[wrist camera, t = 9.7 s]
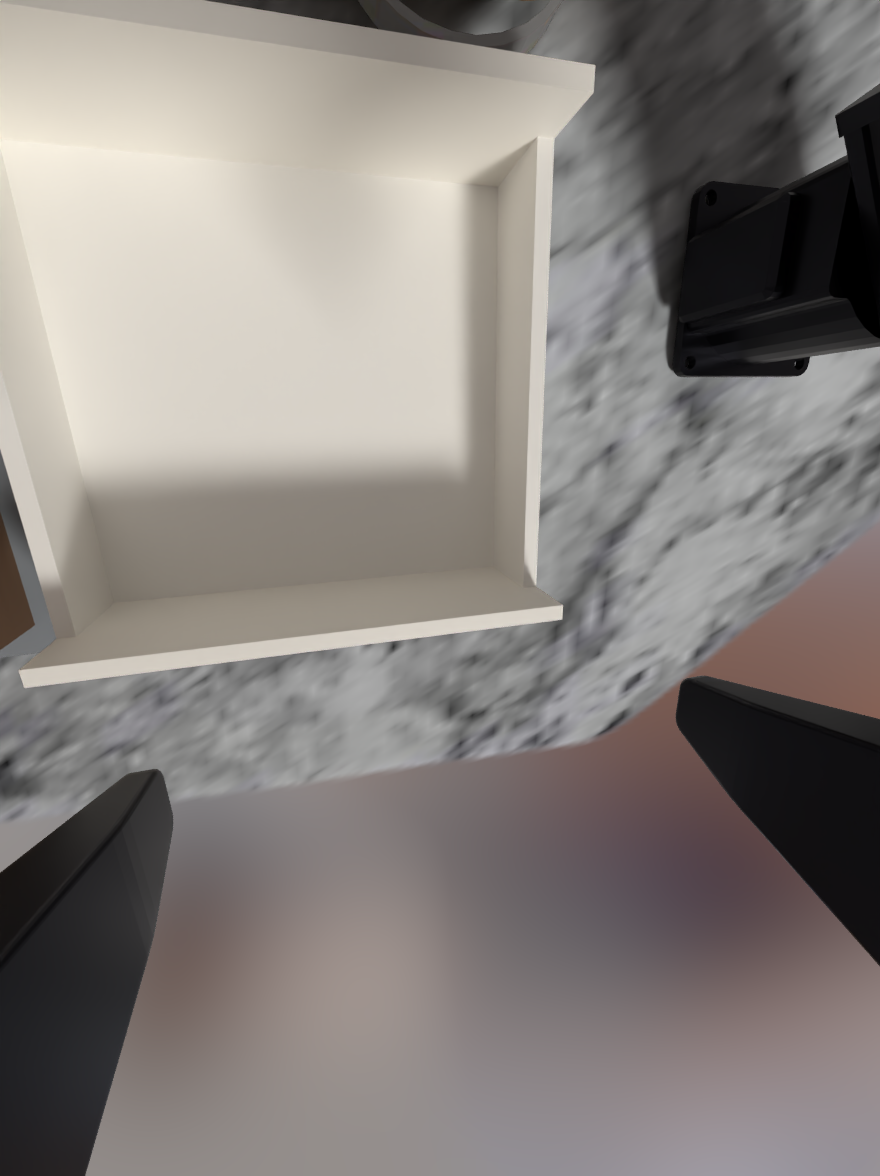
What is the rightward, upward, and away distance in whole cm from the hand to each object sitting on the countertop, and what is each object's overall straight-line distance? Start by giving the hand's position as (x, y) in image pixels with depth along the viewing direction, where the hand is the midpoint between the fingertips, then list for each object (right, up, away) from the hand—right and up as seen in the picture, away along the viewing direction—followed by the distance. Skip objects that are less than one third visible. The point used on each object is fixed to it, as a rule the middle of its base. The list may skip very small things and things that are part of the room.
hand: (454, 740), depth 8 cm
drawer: (-5, +9, +9) cm, 14 cm away
